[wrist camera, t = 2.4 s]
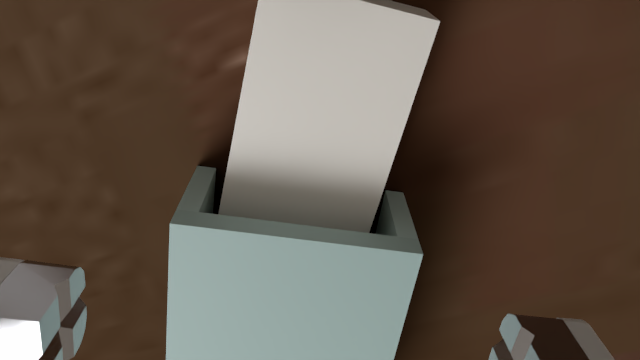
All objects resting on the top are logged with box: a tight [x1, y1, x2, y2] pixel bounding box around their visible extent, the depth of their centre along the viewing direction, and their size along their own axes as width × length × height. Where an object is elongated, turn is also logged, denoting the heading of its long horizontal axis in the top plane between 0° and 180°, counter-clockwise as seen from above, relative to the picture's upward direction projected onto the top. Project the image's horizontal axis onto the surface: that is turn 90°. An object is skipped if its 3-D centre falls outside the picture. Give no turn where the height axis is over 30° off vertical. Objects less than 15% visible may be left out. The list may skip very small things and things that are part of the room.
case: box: [166, 166, 423, 360], centre depth 23 cm, size 9×12×5 cm
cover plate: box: [218, 0, 440, 233], centre depth 22 cm, size 6×14×3 cm, turn 166°
